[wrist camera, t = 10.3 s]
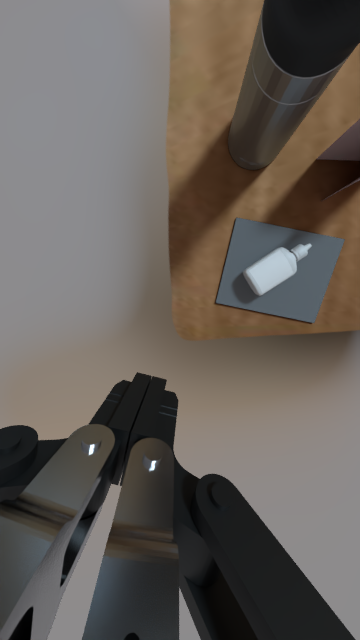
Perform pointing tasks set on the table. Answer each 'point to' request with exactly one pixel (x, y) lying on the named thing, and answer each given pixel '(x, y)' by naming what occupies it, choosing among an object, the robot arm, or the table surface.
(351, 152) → the greeting card
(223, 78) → the table surface
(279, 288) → the mat
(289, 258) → the eye dropper bottle
